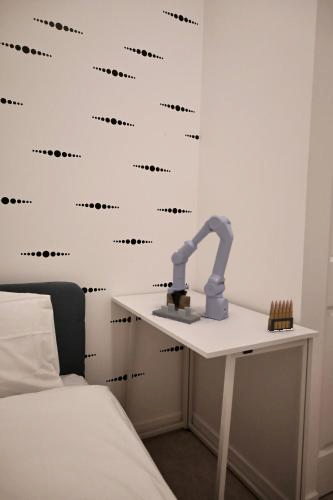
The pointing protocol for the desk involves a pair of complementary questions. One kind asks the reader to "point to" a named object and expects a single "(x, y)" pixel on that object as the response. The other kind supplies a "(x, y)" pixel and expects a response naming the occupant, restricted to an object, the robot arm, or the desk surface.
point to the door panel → (183, 301)
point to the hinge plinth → (177, 314)
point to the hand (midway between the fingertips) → (178, 306)
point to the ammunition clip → (280, 316)
